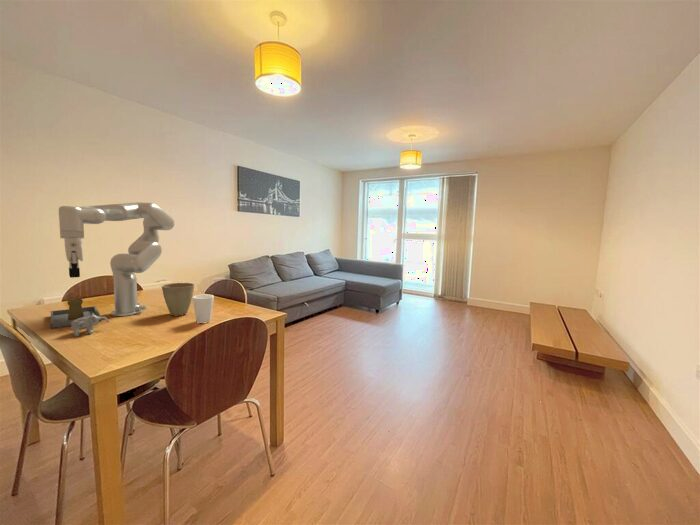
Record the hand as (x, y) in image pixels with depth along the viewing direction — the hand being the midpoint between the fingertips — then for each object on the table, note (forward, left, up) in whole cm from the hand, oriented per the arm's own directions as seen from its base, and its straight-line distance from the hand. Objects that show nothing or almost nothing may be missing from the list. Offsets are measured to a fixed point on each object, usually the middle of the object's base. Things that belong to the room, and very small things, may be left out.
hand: (74, 276), depth 127 cm
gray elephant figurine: (-8, +8, -24) cm, 26 cm away
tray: (+8, -13, -23) cm, 28 cm away
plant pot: (-36, -16, -23) cm, 46 cm away
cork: (+5, -8, -23) cm, 25 cm away
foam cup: (-51, -1, -23) cm, 56 cm away
